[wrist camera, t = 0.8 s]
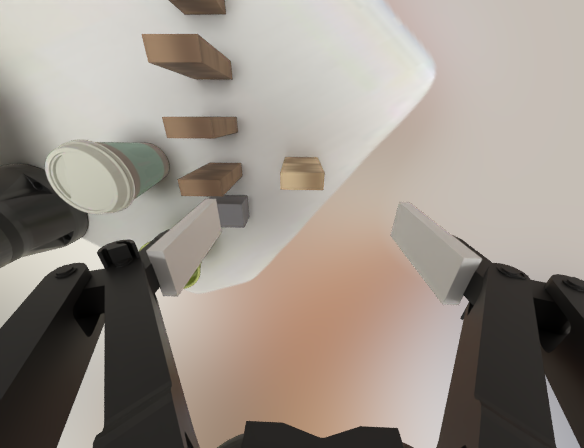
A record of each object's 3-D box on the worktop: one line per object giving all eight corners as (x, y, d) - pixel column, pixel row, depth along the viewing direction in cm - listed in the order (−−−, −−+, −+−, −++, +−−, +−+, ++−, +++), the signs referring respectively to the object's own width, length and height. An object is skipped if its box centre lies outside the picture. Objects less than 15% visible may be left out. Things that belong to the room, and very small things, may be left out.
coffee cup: (141, 120, 31) (57, 121, 20) (188, 164, 34) (137, 187, 23) (113, 159, 34) (26, 179, 23) (159, 197, 36) (101, 231, 26)
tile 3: (195, 79, 28) (148, 62, 19) (192, 60, 27) (141, 34, 18) (232, 79, 28) (202, 62, 19) (230, 61, 27) (197, 34, 18)
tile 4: (204, 131, 31) (167, 138, 22) (202, 116, 30) (161, 117, 21) (237, 132, 31) (213, 138, 22) (236, 117, 30) (210, 117, 21)
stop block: (216, 216, 38) (207, 226, 34) (212, 195, 36) (202, 203, 32) (249, 217, 37) (244, 227, 34) (247, 195, 36) (241, 204, 32)
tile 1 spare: (285, 170, 34) (280, 189, 25) (285, 157, 33) (280, 172, 24) (316, 170, 33) (323, 190, 25) (317, 157, 32) (324, 173, 24)
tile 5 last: (211, 175, 34) (181, 195, 25) (209, 162, 33) (177, 179, 24) (242, 175, 34) (222, 196, 25) (241, 163, 33) (220, 180, 24)
